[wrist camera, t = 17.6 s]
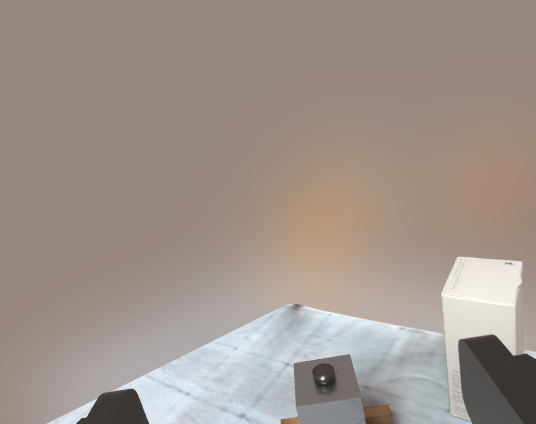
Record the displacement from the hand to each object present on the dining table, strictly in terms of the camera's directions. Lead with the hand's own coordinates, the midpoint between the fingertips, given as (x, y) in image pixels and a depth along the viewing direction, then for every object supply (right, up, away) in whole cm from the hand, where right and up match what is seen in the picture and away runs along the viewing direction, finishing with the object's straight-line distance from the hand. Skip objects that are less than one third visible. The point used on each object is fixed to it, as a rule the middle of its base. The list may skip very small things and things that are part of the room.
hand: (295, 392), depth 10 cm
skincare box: (+24, -17, +34) cm, 45 cm away
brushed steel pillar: (+7, -22, +27) cm, 35 cm away
